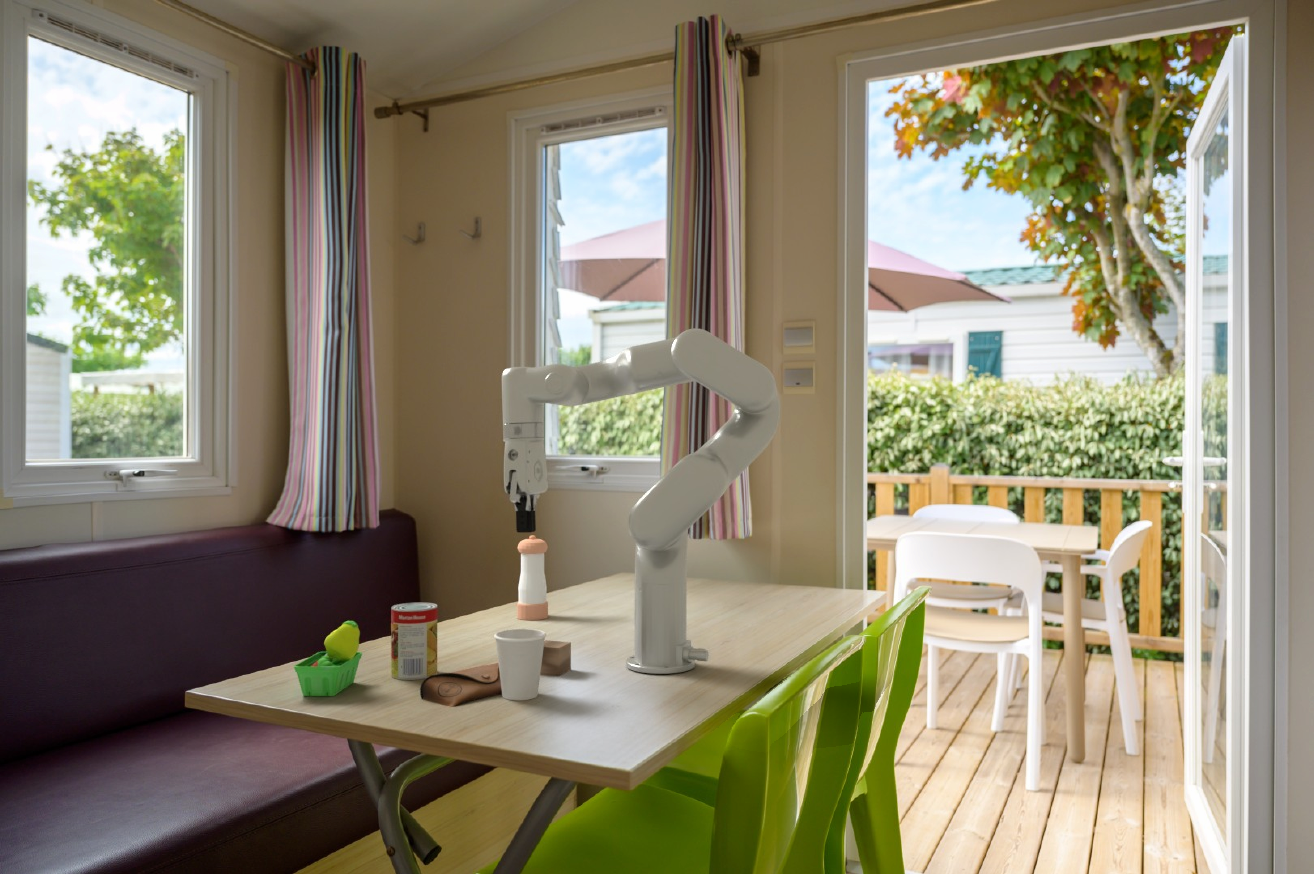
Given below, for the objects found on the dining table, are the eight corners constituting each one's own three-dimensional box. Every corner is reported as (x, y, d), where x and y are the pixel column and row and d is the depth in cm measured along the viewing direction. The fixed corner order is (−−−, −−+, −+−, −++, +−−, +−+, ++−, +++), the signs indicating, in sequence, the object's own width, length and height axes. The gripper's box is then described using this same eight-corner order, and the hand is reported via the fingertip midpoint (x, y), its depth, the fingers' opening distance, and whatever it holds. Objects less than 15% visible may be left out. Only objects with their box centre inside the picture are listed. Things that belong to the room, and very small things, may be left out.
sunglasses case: (451, 707, 142) (438, 666, 144) (427, 723, 146) (415, 683, 148) (539, 685, 156) (526, 648, 158) (516, 700, 160) (503, 663, 162)
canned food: (435, 667, 168) (435, 601, 168) (439, 677, 161) (439, 608, 161) (390, 670, 166) (390, 603, 166) (392, 681, 158) (392, 611, 158)
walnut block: (570, 670, 167) (570, 642, 167) (558, 676, 162) (558, 647, 162) (545, 667, 168) (545, 640, 168) (533, 674, 164) (533, 645, 164)
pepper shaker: (545, 620, 213) (546, 537, 213) (514, 620, 213) (514, 537, 213) (550, 614, 220) (550, 534, 220) (519, 614, 220) (519, 533, 220)
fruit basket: (319, 680, 159) (320, 614, 159) (370, 680, 159) (371, 614, 159) (291, 698, 148) (291, 627, 148) (346, 699, 147) (346, 628, 147)
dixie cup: (486, 701, 146) (486, 637, 146) (503, 687, 154) (503, 627, 154) (537, 703, 145) (537, 639, 145) (552, 689, 153) (552, 629, 153)
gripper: (525, 432, 164) (527, 536, 164) (557, 433, 179) (560, 528, 178) (486, 434, 166) (489, 536, 166) (522, 434, 181) (524, 528, 181)
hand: (526, 531), depth 172 cm, fingers closed
